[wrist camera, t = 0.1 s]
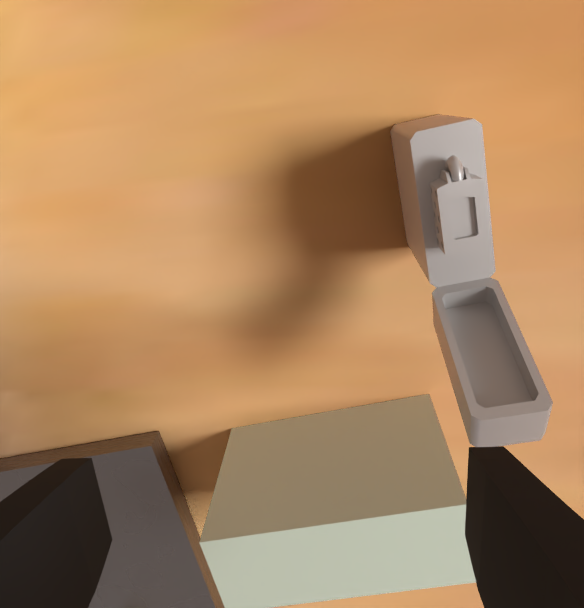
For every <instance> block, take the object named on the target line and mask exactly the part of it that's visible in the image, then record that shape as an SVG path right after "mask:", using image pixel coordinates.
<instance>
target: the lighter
mask: <svg viewBox="0 0 584 608" xmlns="http://www.w3.org/2000/svg"><path fill="white" fill-rule="evenodd" d="M390 133H391V140H392V147H393V153H394V160H395V166H396V173H397V180H398V186H399V193H400V200H401V206H402V213H403V219H404V226H405V233H406V239H407V244H408V246H409V247H410V249H411V251H412V253H413V254H414V256H415V258H416V260H417V261H418V263H419V265H420V267H421V268H422V270H423V272H424V274H425V275H426V277H427V279H428V281H429V282H430V284H432V285H434V286H435V287H437V288H436V289H435V290H434V291H433V293H432V301H433V322H434V327H435V330H436V334H437V337H438V340H439V343H440V347H441V350H442V353H443V357H444V360H445V363H446V367H447V370H448V373H449V376H450V380H451V383H452V386H453V390H454V393H455V396H456V399H457V403H458V406H459V409H460V413H461V416H462V419H463V422H464V426H465V429H466V432H467V436H468V439H469V442H470V444H472V445H473V446H475V447H497V446H504V445H511V444H518V443H525V442H532V441H539V440H541V439H542V437H543V436H544V434H545V432H546V428H547V424H548V420H549V416H550V412H551V408H552V404H553V402H552V399H551V397H550V395H549V393H548V390H547V388H546V386H545V384H544V382H543V379H542V377H541V375H540V373H539V371H538V368H537V366H536V364H535V362H534V359H533V357H532V355H531V353H530V351H529V348H528V346H527V344H526V342H525V339H524V337H523V335H522V333H521V331H520V328H519V326H518V324H517V322H516V319H515V317H514V315H513V313H512V311H511V308H510V306H509V304H508V302H507V299H506V297H505V295H504V293H503V291H502V288H501V286H500V284H499V282H498V281H497V280H495V279H492V278H490V277H491V276H492V275H493V273H494V272H495V260H494V249H493V238H492V228H491V217H490V206H489V195H488V184H487V174H486V163H485V152H484V141H483V130H482V124H481V123H479V122H478V121H476V120H475V119H472V118H464V117H456V116H448V115H440V114H438V115H433V116H429V117H425V118H420V119H416V120H412V121H407V122H403V123H398V124H395V125H394V126H393V128H392V129H391V131H390Z"/></svg>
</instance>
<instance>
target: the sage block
mask: <svg viewBox="0 0 584 608" xmlns="http://www.w3.org/2000/svg"><path fill="white" fill-rule="evenodd" d="M465 519H466V497H465V494H464V491H463V489H462V486H461V483H460V480H459V477H458V474H457V472H456V469H455V466H454V463H453V460H452V457H451V454H450V452H449V449H448V446H447V443H446V440H445V437H444V435H443V432H442V429H441V426H440V423H439V420H438V417H437V415H436V412H435V409H434V406H433V403H432V400H431V398H430V395H429V394H426V395H420V396H414V397H408V398H403V399H397V400H391V401H385V402H380V403H374V404H368V405H362V406H357V407H351V408H345V409H339V410H334V411H328V412H322V413H316V414H311V415H305V416H299V417H293V418H288V419H282V420H276V421H270V422H265V423H259V424H253V425H248V426H242V427H236V428H232V429H231V433H230V436H229V440H228V443H227V447H226V450H225V454H224V457H223V461H222V465H221V468H220V472H219V475H218V479H217V482H216V486H215V489H214V493H213V496H212V500H211V503H210V507H209V510H208V514H207V517H206V521H205V524H204V528H203V531H202V535H201V538H200V542H199V543H200V546H201V548H202V551H203V553H204V556H205V558H206V561H207V563H208V566H209V569H210V571H211V574H212V576H213V579H214V581H215V584H216V586H217V589H218V592H219V594H220V597H221V599H222V602H223V604H224V607H225V608H271V607H279V606H287V605H295V604H303V603H311V602H320V601H328V600H336V599H344V598H352V597H360V596H369V595H377V594H385V593H393V592H401V591H410V590H418V589H426V588H434V587H442V586H450V585H459V584H467V583H475V582H476V579H475V575H474V571H473V567H472V563H471V559H470V555H469V550H468V546H467V542H466V538H465Z"/></svg>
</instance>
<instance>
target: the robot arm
mask: <svg viewBox="0 0 584 608" xmlns="http://www.w3.org/2000/svg"><path fill="white" fill-rule="evenodd" d="M465 538H466V542H467V546H468V550H469V555H470V559H471V563H472V567H473V571H474V575H475V579H476V583H477V587H478V591H479V594H480V597H481V599H482V602H483V605H484V608H584V519H582V518H581V517H580V516H579V515H578V514H577V513H576V512H574V511H573V510H572V509H571V508H570V507H569V506H568V505H566V504H565V503H564V502H563V501H562V500H561V499H560V498H559V497H558V496H556V495H555V494H554V493H553V492H552V491H551V490H550V489H549V488H548V487H547V486H546V485H544V484H543V483H542V482H541V481H540V480H539V479H538V478H537V477H536V476H535V475H534V474H533V473H532V472H530V471H529V470H528V469H527V468H526V467H525V466H524V465H523V464H522V463H521V462H520V461H519V460H517V459H516V458H515V457H514V456H513V455H512V454H511V453H510V452H509V451H508V450H507V449H506V448H504V447H503V446H501V447H469V458H468V479H467V499H466V519H465ZM111 543H112V536H111V532H110V528H109V524H108V520H107V516H106V512H105V508H104V504H103V501H102V497H101V493H100V489H99V485H98V481H97V477H96V473H95V469H94V465H93V461H92V458H68V459H61V460H59V461H57V462H56V463H54V464H53V465H51V466H50V467H48V468H47V469H45V470H44V471H42V472H41V473H39V474H38V475H36V476H35V477H34V478H32V479H31V480H29V481H28V482H27V483H25V484H24V485H23V486H21V487H20V488H18V489H17V490H16V491H14V492H13V493H12V494H10V495H9V496H7V497H6V498H5V499H3V500H2V501H1V502H0V608H88V607H89V604H90V602H91V600H92V598H93V596H94V593H95V591H96V588H97V585H98V582H99V579H100V577H101V574H102V571H103V568H104V565H105V562H106V558H107V555H108V552H109V549H110V546H111Z"/></svg>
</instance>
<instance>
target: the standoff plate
mask: <svg viewBox="0 0 584 608" xmlns="http://www.w3.org/2000/svg"><path fill="white" fill-rule="evenodd" d="M68 458H92V461H93V465H94V469H95V473H96V477H97V481H98V485H99V489H100V493H101V497H102V501H103V504H104V508H105V512H106V516H107V520H108V524H109V528H110V532H111V536H112V543H111V546H110V549H109V552H108V555H107V558H106V562H105V565H104V568H103V571H102V574H101V577H100V579H99V582H98V585H97V588H96V591H95V593H94V596H93V598H92V600H91V602H90V604H89V607H88V608H225V607H224V604H223V602H222V599H221V597H220V594H219V592H218V589H217V586H216V584H215V581H214V579H213V576H212V574H211V571H210V569H209V566H208V563H207V561H206V558H205V556H204V553H203V551H202V548H201V546H200V543H199V542H200V536H199V534H198V531H197V529H196V526H195V523H194V521H193V518H192V516H191V513H190V510H189V508H188V505H187V503H186V500H185V498H184V495H183V492H182V490H181V487H180V485H179V482H178V479H177V477H176V474H175V472H174V469H173V467H172V464H171V461H170V459H169V456H168V454H167V451H166V448H165V446H164V443H163V441H162V438H161V435H160V433H159V431H156V432H150V433H144V434H139V435H133V436H127V437H122V438H116V439H110V440H105V441H99V442H93V443H88V444H82V445H77V446H71V447H65V448H60V449H54V450H48V451H43V452H37V453H31V454H26V455H20V456H14V457H9V458H3V459H0V502H1V501H2V500H3V499H5V498H6V497H7V496H9V495H10V494H12V493H13V492H14V491H16V490H17V489H18V488H20V487H21V486H23V485H24V484H25V483H27V482H28V481H29V480H31V479H32V478H34V477H35V476H36V475H38V474H39V473H41V472H42V471H44V470H45V469H47V468H48V467H50V466H51V465H53V464H54V463H56V462H57V461H59V460H61V459H68Z"/></svg>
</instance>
